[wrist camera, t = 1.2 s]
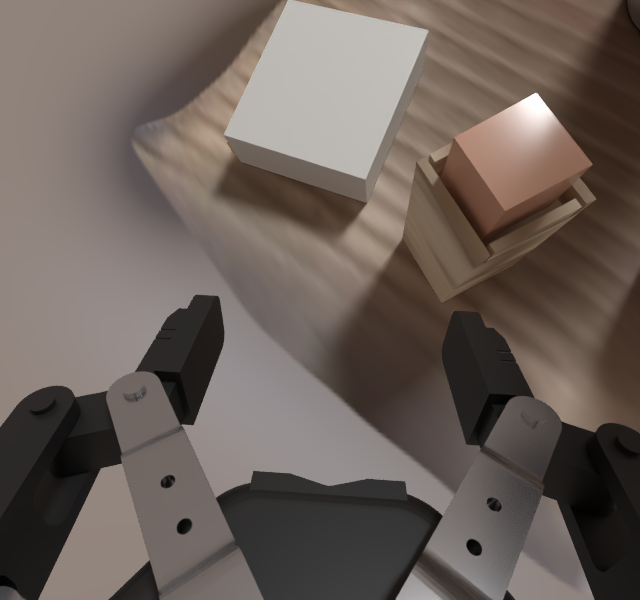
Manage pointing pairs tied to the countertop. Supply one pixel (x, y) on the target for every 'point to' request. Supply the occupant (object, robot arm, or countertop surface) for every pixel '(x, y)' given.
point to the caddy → (472, 231)
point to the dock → (328, 98)
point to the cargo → (512, 166)
